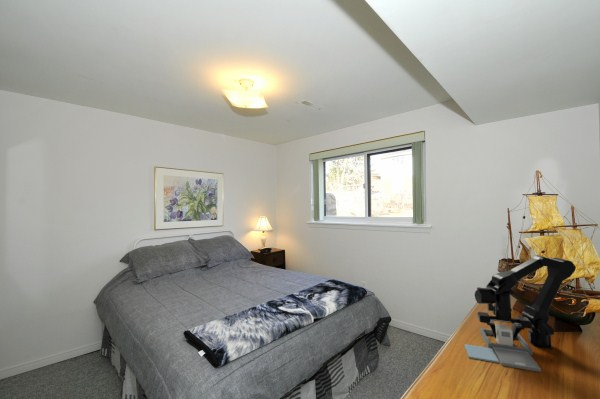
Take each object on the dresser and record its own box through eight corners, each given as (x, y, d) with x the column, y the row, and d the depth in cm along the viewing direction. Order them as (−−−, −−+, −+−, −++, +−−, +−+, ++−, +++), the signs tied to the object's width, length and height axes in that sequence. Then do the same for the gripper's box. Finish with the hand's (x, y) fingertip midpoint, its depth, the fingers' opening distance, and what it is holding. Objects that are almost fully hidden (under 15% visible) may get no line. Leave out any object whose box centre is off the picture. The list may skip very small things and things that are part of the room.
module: (509, 341, 120) (508, 325, 120) (513, 347, 115) (512, 330, 115) (495, 339, 122) (495, 323, 122) (499, 345, 117) (498, 328, 117)
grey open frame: (519, 337, 122) (518, 333, 122) (546, 372, 97) (546, 367, 97) (480, 332, 128) (480, 328, 128) (496, 364, 103) (496, 359, 103)
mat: (491, 349, 113) (491, 348, 113) (498, 362, 104) (498, 361, 104) (464, 345, 117) (464, 344, 117) (468, 357, 108) (468, 356, 108)
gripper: (522, 300, 122) (523, 334, 122) (474, 295, 130) (475, 328, 129) (532, 309, 112) (533, 346, 112) (479, 303, 119) (480, 338, 119)
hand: (504, 339), depth 118 cm, fingers open, 6 cm apart
